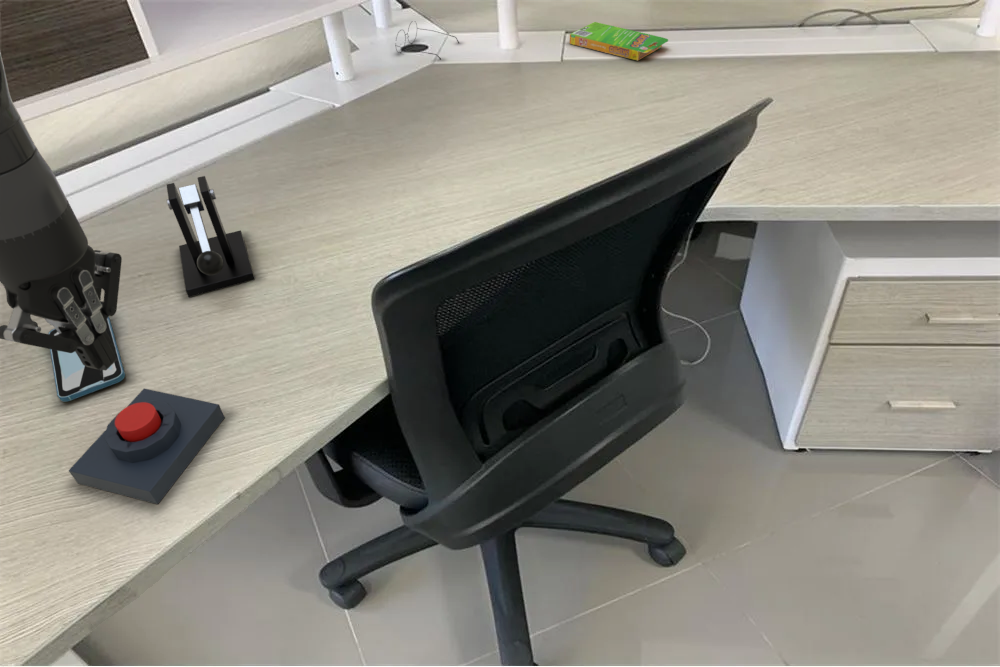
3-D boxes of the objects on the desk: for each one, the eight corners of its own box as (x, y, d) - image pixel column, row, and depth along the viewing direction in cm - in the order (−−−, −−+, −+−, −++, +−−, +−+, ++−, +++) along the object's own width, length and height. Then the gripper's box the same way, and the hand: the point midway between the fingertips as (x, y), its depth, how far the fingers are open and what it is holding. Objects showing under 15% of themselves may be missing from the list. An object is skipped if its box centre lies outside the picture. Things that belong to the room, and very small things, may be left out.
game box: (594, 34, 167) (669, 48, 155) (569, 47, 162) (645, 62, 150) (594, 21, 165) (670, 34, 153) (568, 33, 160) (645, 48, 148)
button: (145, 445, 72) (138, 434, 71) (113, 438, 73) (105, 427, 72) (169, 417, 75) (163, 406, 74) (138, 410, 76) (131, 399, 74)
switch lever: (228, 275, 93) (223, 264, 90) (203, 282, 92) (197, 271, 89) (204, 194, 96) (198, 181, 93) (179, 199, 96) (173, 186, 93)
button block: (158, 504, 71) (142, 480, 68) (77, 483, 73) (59, 459, 70) (225, 417, 79) (213, 393, 76) (151, 401, 82) (137, 377, 79)
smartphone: (106, 310, 93) (124, 375, 83) (109, 316, 94) (128, 381, 84) (46, 331, 91) (57, 400, 81) (50, 336, 91) (61, 406, 81)
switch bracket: (255, 279, 98) (227, 200, 90) (188, 297, 96) (153, 217, 88) (243, 236, 107) (216, 160, 98) (181, 252, 104) (149, 175, 96)
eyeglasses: (461, 41, 165) (459, 19, 162) (439, 61, 156) (437, 38, 153) (418, 38, 168) (415, 16, 165) (394, 57, 160) (391, 34, 156)
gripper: (40, 166, 62) (118, 315, 74) (-93, 250, 53) (20, 405, 64) (109, 176, 60) (178, 327, 72) (-15, 265, 51) (87, 422, 63)
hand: (103, 364), depth 68 cm, fingers closed
